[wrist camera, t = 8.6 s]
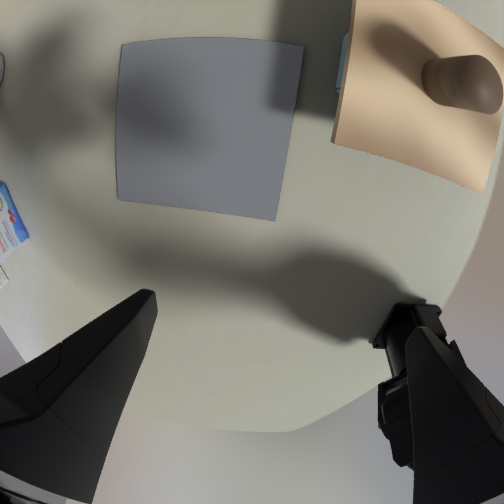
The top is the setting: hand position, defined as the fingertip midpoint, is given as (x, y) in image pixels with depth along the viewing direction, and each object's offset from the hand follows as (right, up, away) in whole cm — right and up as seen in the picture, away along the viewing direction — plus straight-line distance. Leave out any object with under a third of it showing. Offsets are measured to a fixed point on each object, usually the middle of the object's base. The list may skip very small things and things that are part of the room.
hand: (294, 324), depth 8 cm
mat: (-5, +11, +9) cm, 15 cm away
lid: (+9, +12, +2) cm, 15 cm away
